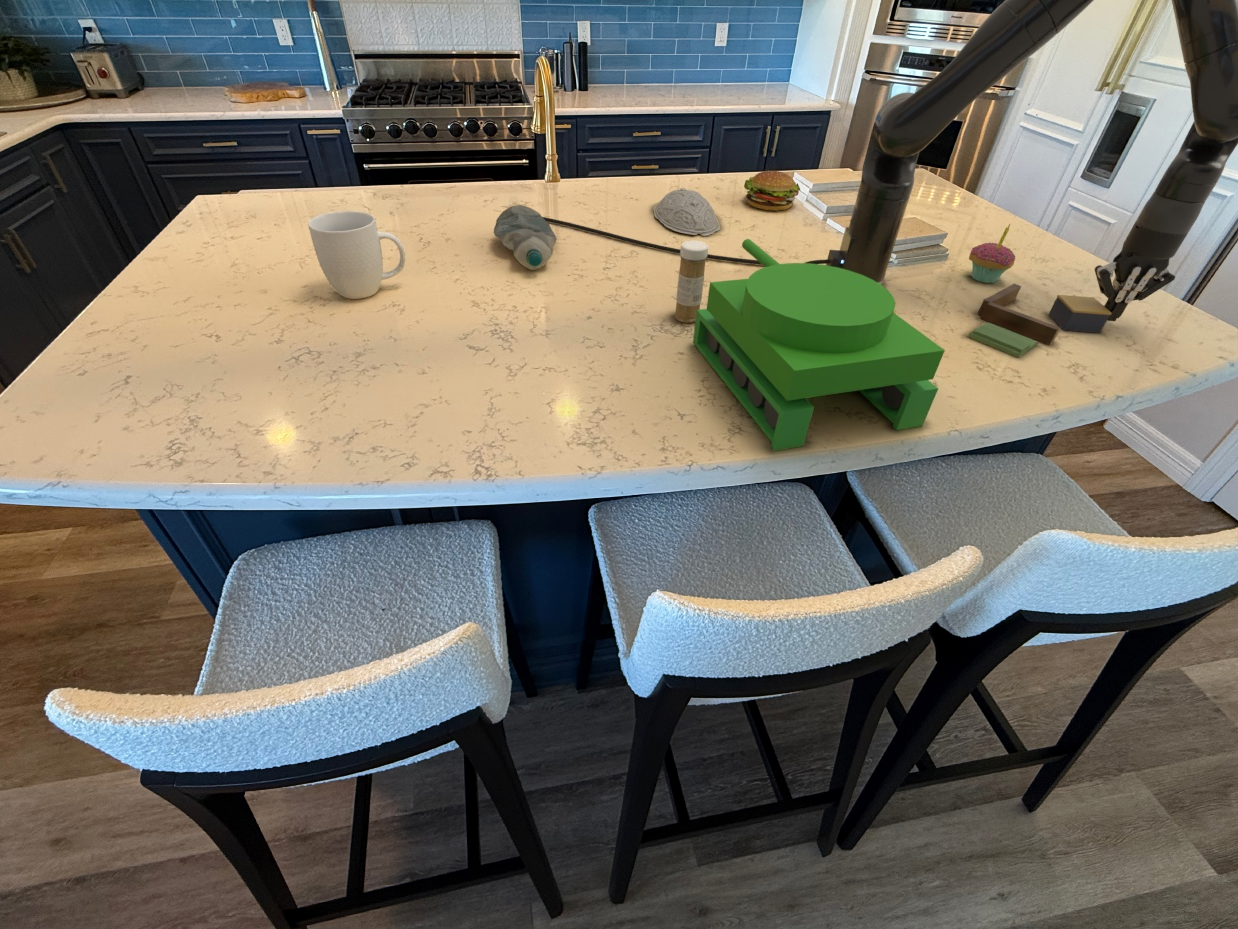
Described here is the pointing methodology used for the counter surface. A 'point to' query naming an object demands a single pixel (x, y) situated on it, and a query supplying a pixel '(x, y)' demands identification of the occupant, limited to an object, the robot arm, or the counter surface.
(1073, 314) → the tea tin
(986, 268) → the cupcake
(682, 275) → the sprinkles bottle
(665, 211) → the grey turtle shell
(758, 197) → the food
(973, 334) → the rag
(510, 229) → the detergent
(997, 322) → the corner guide
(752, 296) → the tank
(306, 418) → the counter surface
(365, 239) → the mug
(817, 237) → the counter surface
